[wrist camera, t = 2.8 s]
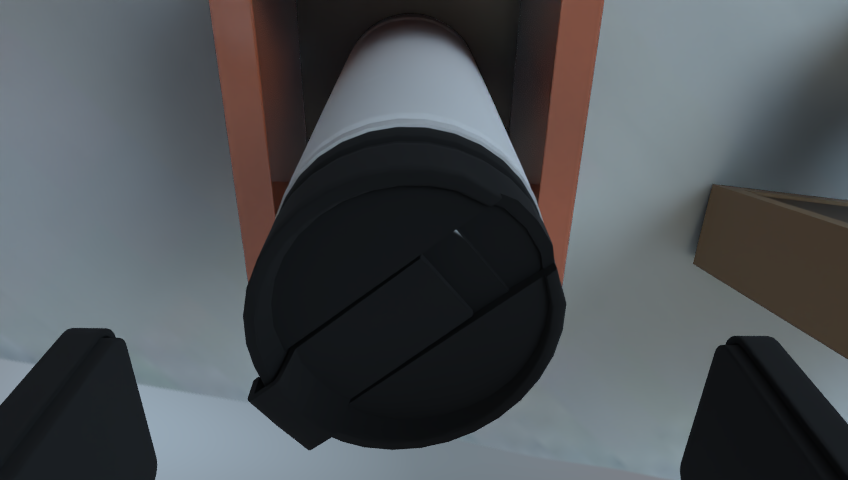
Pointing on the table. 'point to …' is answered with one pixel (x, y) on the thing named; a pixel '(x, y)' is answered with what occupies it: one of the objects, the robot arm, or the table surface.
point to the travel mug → (403, 257)
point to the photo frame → (782, 256)
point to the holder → (285, 117)
